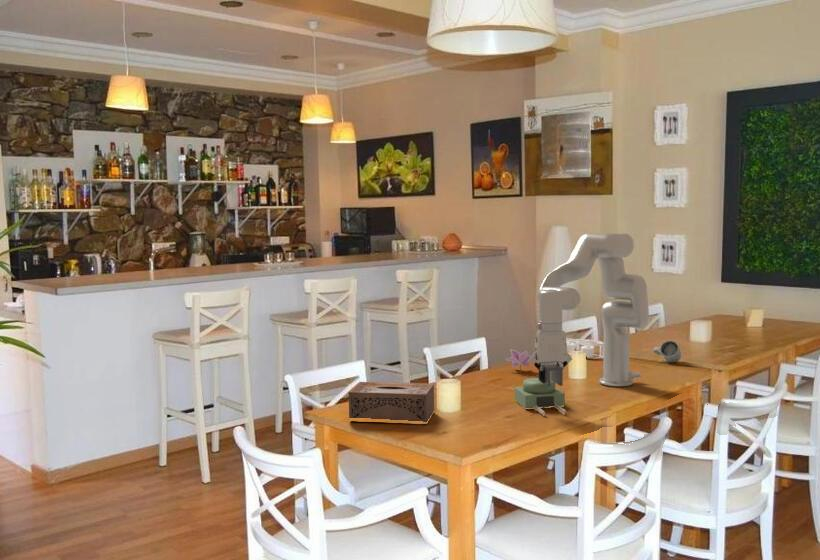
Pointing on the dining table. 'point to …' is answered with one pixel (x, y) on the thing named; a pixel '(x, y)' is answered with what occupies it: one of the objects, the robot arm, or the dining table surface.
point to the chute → (553, 374)
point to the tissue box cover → (392, 401)
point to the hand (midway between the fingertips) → (550, 381)
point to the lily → (519, 358)
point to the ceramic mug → (669, 351)
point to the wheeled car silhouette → (585, 346)
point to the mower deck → (539, 395)
